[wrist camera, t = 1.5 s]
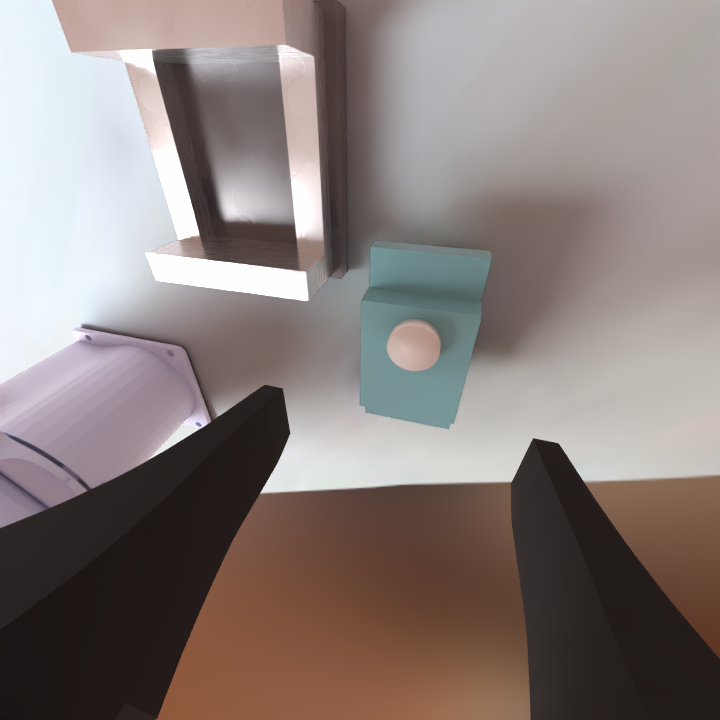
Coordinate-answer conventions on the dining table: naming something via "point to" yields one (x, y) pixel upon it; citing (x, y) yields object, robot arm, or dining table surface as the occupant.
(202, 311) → the dining table surface
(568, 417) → the dining table surface
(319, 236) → the plate
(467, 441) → the dining table surface
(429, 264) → the block
